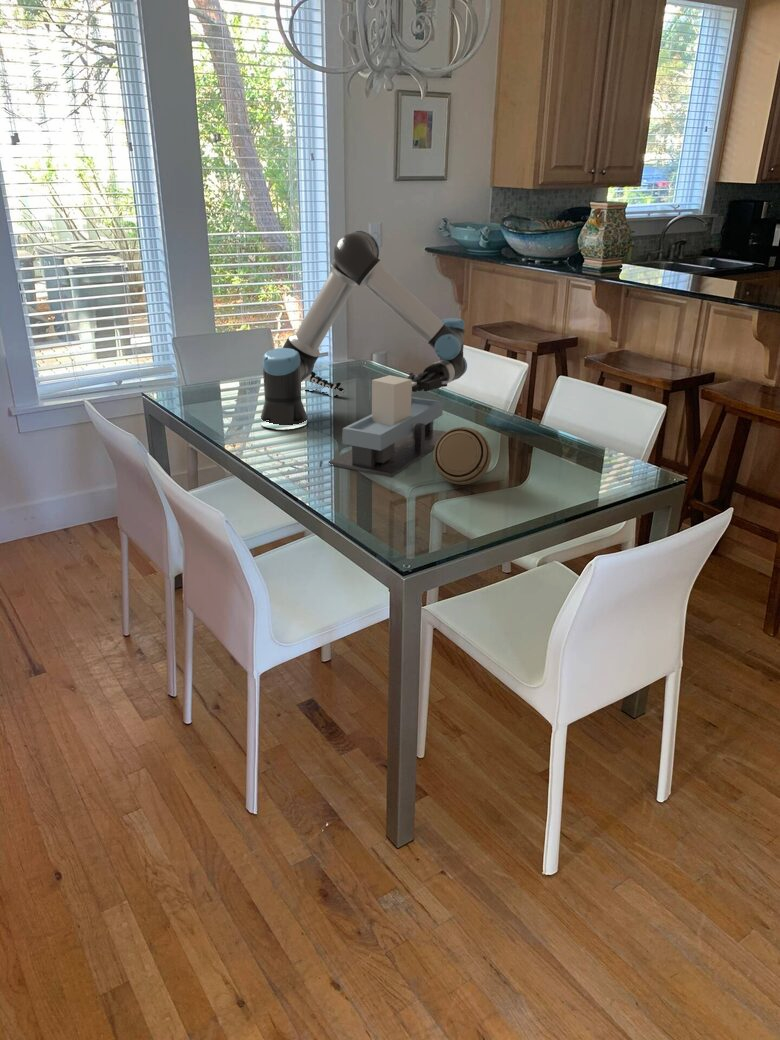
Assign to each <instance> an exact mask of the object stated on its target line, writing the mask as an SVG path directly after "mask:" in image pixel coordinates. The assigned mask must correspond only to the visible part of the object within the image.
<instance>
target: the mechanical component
mask: <svg viewBox="0 0 780 1040" xmlns="http://www.w3.org/2000/svg"><path fill="white" fill-rule="evenodd" d="M445 432H446V433H444V434H443V435H442V436H441V437H440V438H439V440H438V441H437V443H436V445H435V448H434V450H433V456H432V458H433V464H434V467H435V469H436V471H437V472H438V474H439V475H440V476H441V477H442V478H443V479H444V480H446V481H447V482H449V483H452V484H453V485H459V486H466V485H470V484H473V483H476V482H477V481H479V480H480V479H481V478H483V476H485V475H486V473H487V471H488V470H489V467H490V465H491V462H492V461H491V460H492V451H491V447H490V444H489V442H488V440H487V439H486V437H485V436H484V435H483V433H481V432H479V431H478V430H476V429H475V428H474V429H473V428H470V427H466V426H460V427H454V428H450V429H449V430H447V431H445Z"/></svg>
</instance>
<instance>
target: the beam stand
mask: <svg viewBox="0 0 780 1040" xmlns="http://www.w3.org/2000/svg"><path fill="white" fill-rule="evenodd" d="M446 432H447V431H445V430H438V429H434V420H433V421H432V422H430V423H428V424H426V425H425V424H423V423H418V424H416V425H415V431H414V432H412V433H411V434H409V435H407V436H405V437H404V438H402V439H400V440H398V441H397V442H395V452H394V457H392V458H390V459H389V460H387V461H385V462H384V463H380V462H375V450H374V449H368V448H363V447H358V446H352V445H351V447H352V448H351V449H349V450H347V451H345V452H343V453H341V454H340V455H338V456H335V457H334V458H333V459H331V460H328V464H329V463H330V464H333V465H336V466H335V467H337V466H338V468H342V467H343V468H342V469H347V470H348V469H349V470H353V471H357V472H363V473H369V474H374V475H379V476H384V477H388V478H393V477H395V476H396V475H397V474H400V473H401V472H403V470H405V469H406V468H408V467H410V466H411V465H413V464H414V463H416V462H417V461H419V460H421V459H422V458H423V457H425V456H428V454H430V453H431V452H434V448H435V445H436V443H437V441H438V440H439V438H440V437H441V436H442V435H443V434H444V433H446Z"/></svg>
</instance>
